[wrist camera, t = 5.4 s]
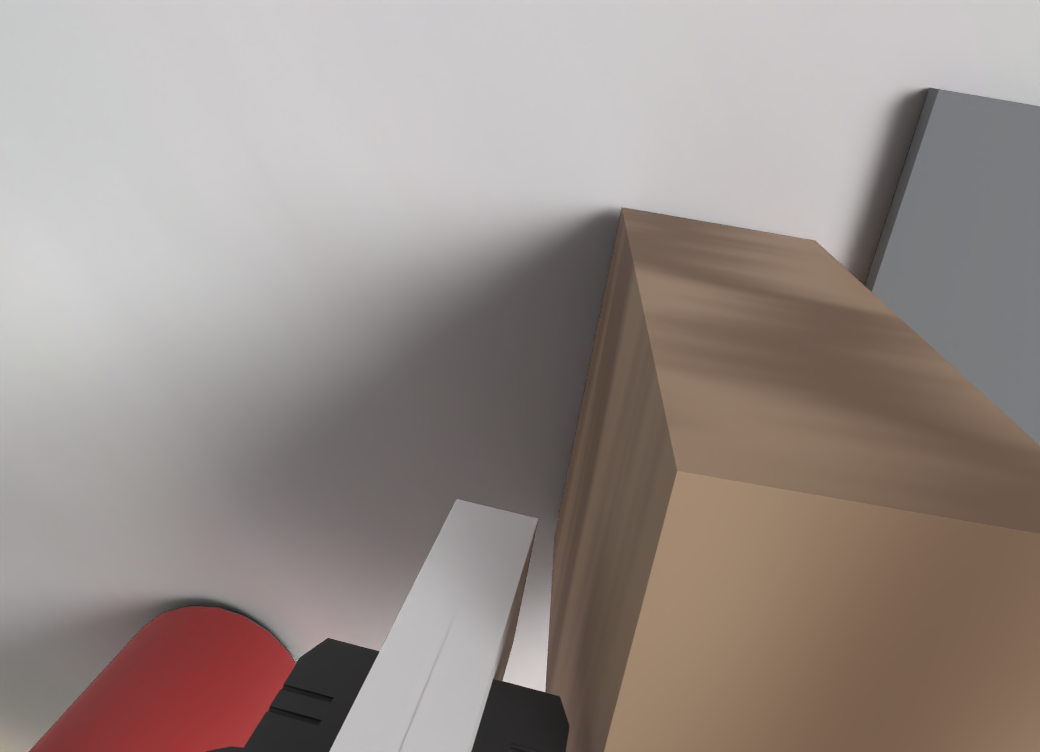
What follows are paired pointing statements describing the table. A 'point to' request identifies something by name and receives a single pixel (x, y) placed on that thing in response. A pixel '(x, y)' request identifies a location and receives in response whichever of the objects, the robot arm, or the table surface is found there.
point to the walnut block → (786, 518)
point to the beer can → (178, 688)
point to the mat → (971, 245)
